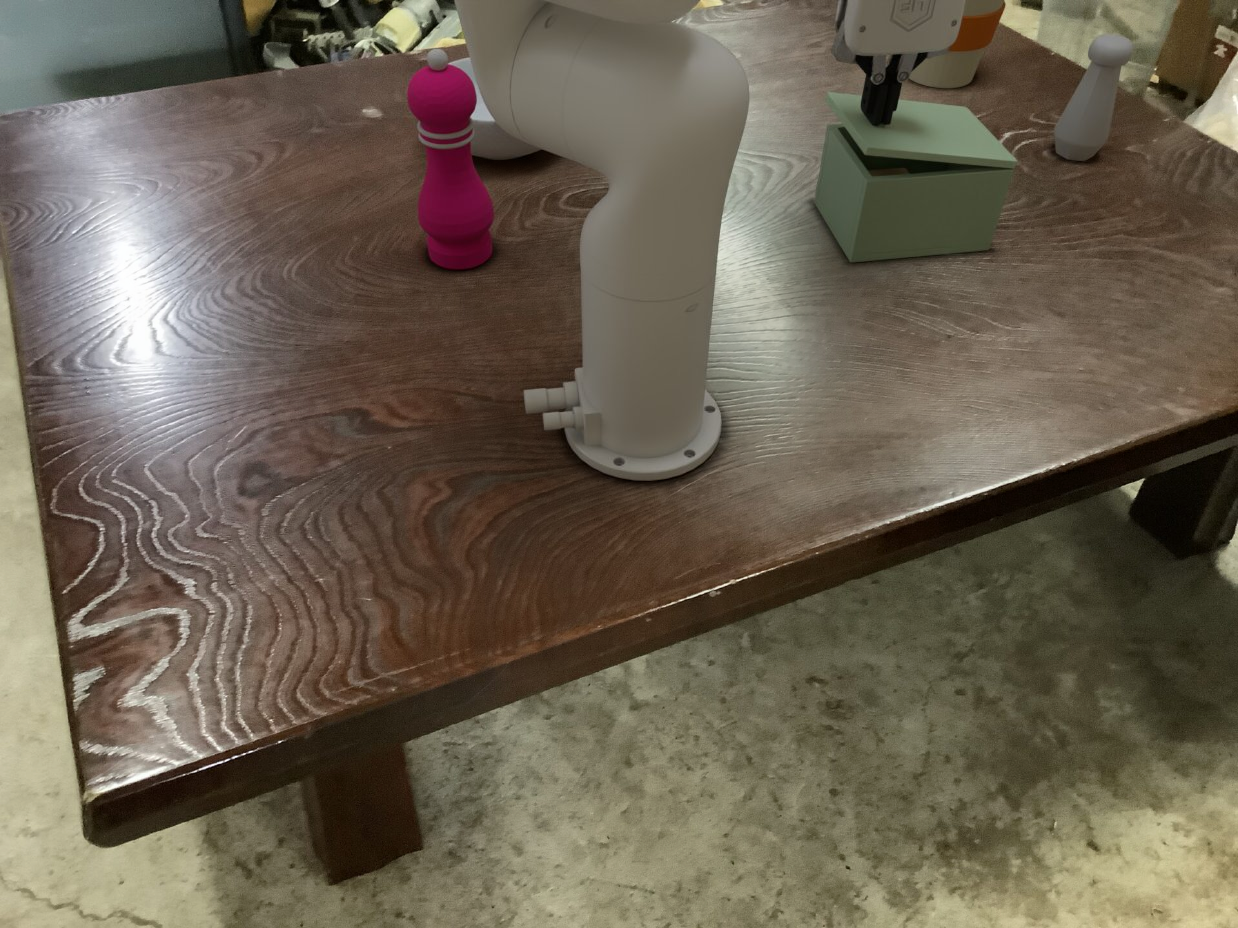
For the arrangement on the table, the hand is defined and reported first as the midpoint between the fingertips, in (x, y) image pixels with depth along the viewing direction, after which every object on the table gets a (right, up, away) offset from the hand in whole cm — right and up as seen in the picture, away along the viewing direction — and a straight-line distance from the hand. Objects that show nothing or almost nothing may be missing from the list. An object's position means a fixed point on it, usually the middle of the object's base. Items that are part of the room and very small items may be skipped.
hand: (876, 118), depth 92 cm
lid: (+4, -1, +2) cm, 5 cm away
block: (+3, -8, +8) cm, 11 cm away
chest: (+5, -8, +9) cm, 13 cm away
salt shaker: (+28, +3, +21) cm, 35 cm away
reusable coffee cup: (+17, +18, +36) cm, 44 cm away
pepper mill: (-40, -12, +5) cm, 42 cm away
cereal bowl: (-38, +4, +21) cm, 43 cm away
